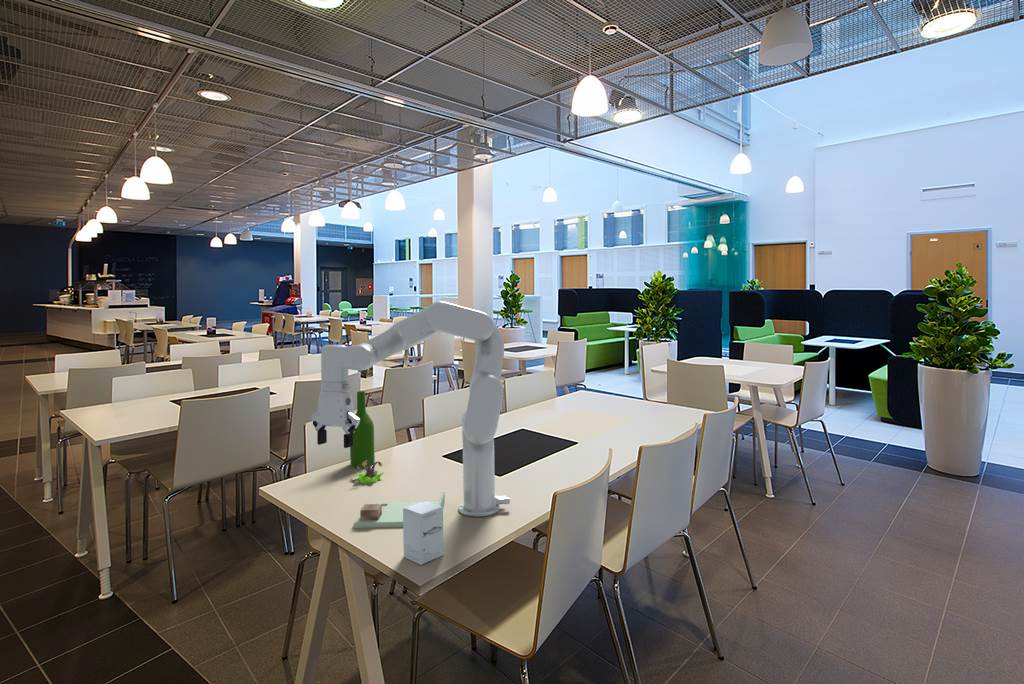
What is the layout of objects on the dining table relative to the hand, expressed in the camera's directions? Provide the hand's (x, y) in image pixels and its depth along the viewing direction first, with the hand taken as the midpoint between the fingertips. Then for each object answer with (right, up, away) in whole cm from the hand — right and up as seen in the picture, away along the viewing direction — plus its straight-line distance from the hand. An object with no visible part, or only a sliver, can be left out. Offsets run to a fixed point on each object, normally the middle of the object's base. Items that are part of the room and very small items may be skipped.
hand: (335, 445), depth 155 cm
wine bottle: (-6, -22, +49) cm, 54 cm away
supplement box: (+30, -24, -22) cm, 44 cm away
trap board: (+19, -23, +3) cm, 30 cm away
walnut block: (+11, -21, -2) cm, 23 cm away
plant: (+1, -23, +32) cm, 39 cm away
